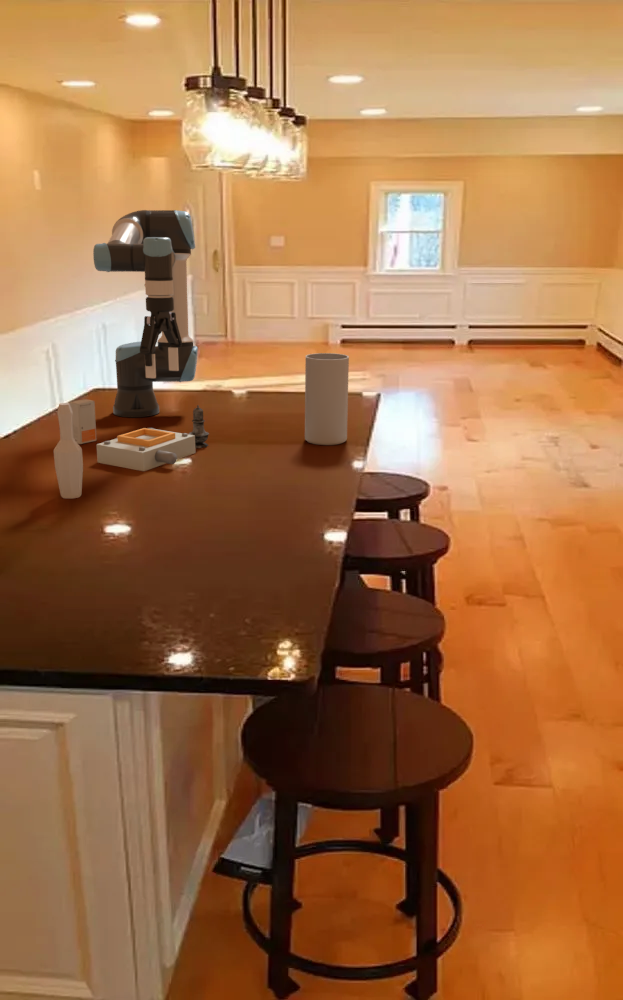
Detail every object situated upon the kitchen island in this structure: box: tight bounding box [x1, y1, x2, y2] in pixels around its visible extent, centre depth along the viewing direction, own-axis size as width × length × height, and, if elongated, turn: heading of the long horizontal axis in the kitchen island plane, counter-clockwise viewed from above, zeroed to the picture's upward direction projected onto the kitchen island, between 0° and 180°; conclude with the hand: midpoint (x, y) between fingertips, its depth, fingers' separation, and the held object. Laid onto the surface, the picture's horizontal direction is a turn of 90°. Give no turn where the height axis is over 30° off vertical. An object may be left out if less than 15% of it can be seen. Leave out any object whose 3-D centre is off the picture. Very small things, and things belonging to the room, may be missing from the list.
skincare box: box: [68, 398, 97, 445], centre depth 254 cm, size 6×4×12 cm
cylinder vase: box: [304, 352, 350, 446], centre depth 257 cm, size 12×12×25 cm
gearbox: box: [95, 427, 197, 472], centre depth 238 cm, size 22×21×6 cm
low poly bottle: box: [53, 402, 84, 499], centre depth 203 cm, size 6×6×22 cm
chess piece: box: [188, 404, 210, 449], centre depth 251 cm, size 6×6×12 cm
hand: (162, 374), depth 245 cm, fingers open, 13 cm apart
